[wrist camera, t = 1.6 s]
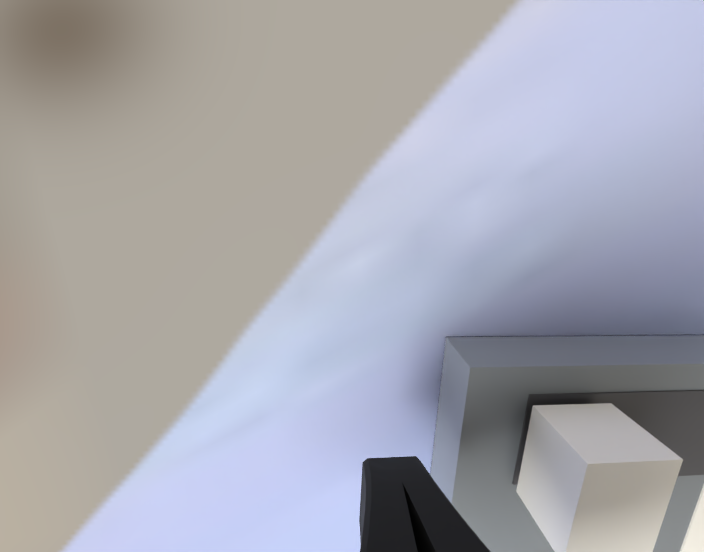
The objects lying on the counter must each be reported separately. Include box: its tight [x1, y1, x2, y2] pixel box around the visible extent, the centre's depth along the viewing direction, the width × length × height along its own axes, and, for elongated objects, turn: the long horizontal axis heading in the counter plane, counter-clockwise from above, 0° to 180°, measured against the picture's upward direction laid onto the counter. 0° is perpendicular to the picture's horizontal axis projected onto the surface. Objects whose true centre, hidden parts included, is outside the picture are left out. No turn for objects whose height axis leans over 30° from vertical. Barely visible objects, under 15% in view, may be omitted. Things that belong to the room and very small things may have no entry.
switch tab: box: [516, 403, 683, 552], centre depth 10 cm, size 3×2×2 cm
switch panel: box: [430, 335, 704, 552], centre depth 13 cm, size 12×10×2 cm
